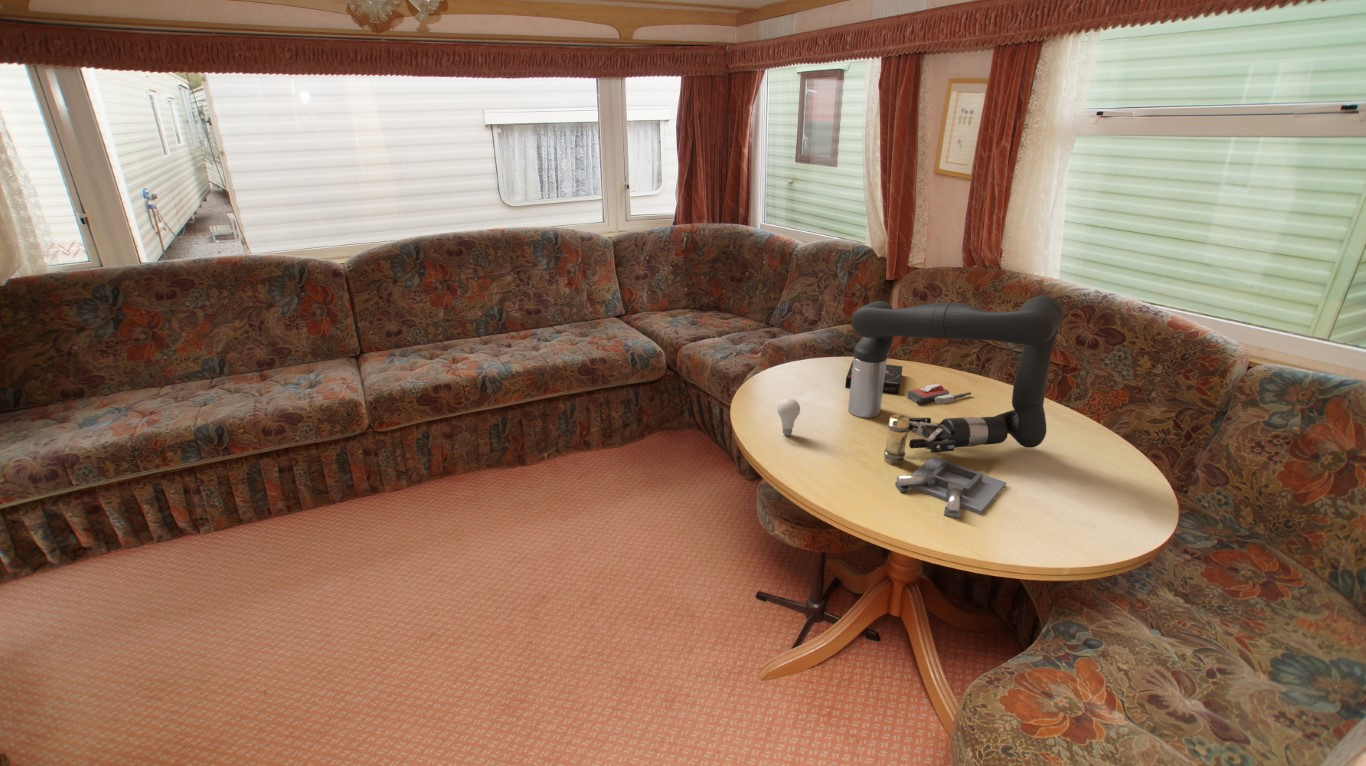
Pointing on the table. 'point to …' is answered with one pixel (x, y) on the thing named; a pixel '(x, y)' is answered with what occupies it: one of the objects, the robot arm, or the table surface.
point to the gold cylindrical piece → (896, 439)
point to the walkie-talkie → (932, 395)
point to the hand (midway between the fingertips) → (902, 435)
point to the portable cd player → (890, 380)
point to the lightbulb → (788, 414)
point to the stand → (975, 484)
